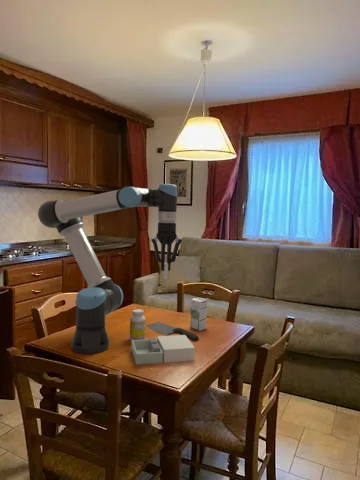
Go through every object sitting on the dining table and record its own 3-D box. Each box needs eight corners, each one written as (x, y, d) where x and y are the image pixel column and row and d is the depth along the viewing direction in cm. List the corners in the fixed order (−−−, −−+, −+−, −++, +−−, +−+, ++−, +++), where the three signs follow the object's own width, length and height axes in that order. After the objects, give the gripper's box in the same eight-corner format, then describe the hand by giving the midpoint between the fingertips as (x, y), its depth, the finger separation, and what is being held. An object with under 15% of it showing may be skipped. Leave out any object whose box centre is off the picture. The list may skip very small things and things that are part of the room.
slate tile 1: (159, 359, 141) (153, 359, 141) (157, 354, 146) (151, 355, 145) (160, 348, 141) (153, 348, 140) (157, 343, 145) (151, 343, 145)
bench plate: (163, 362, 140) (164, 349, 140) (156, 348, 154) (157, 336, 153) (194, 360, 143) (194, 347, 143) (184, 346, 157) (185, 334, 156)
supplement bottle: (129, 337, 165) (130, 308, 164) (144, 336, 166) (145, 308, 165) (130, 342, 158) (131, 312, 157) (145, 342, 160) (146, 312, 159)
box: (136, 364, 137) (136, 354, 137) (131, 349, 151) (131, 340, 151) (162, 362, 140) (162, 352, 140) (155, 348, 153) (155, 338, 153)
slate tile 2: (157, 353, 147) (150, 353, 147) (154, 348, 152) (148, 349, 151) (157, 342, 147) (151, 342, 146) (154, 337, 151) (148, 338, 150)
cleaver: (202, 339, 166) (202, 334, 166) (187, 344, 159) (187, 340, 159) (157, 323, 187) (157, 319, 186) (142, 327, 180) (142, 323, 179)
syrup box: (206, 328, 180) (208, 299, 179) (198, 331, 176) (200, 301, 174) (197, 325, 184) (199, 296, 183) (189, 328, 180) (190, 298, 178)
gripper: (153, 222, 148) (151, 280, 150) (184, 222, 151) (182, 280, 154) (149, 221, 155) (148, 276, 157) (180, 221, 158) (178, 276, 161)
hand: (165, 278), depth 155 cm, fingers closed
